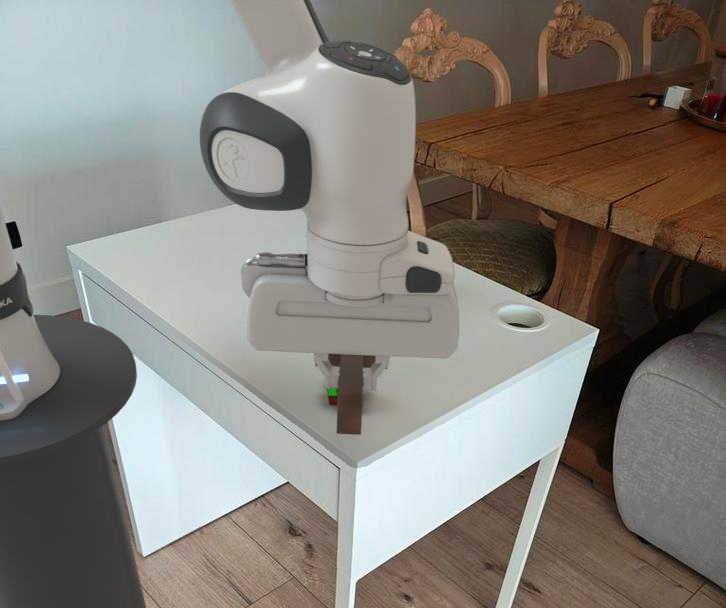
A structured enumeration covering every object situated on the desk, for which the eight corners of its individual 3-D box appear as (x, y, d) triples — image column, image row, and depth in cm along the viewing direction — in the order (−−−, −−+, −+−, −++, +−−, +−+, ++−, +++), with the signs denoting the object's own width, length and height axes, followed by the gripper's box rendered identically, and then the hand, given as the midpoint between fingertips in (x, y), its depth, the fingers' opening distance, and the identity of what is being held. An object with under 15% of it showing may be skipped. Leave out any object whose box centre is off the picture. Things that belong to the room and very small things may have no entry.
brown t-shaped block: (307, 433, 69) (307, 399, 66) (315, 360, 79) (315, 328, 76) (389, 436, 69) (392, 402, 66) (387, 363, 79) (389, 331, 76)
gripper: (234, 267, 60) (245, 400, 70) (472, 277, 61) (451, 408, 70) (244, 237, 65) (252, 365, 74) (464, 247, 66) (446, 373, 75)
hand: (350, 386), depth 72 cm, fingers closed on brown t-shaped block, 2 cm apart
